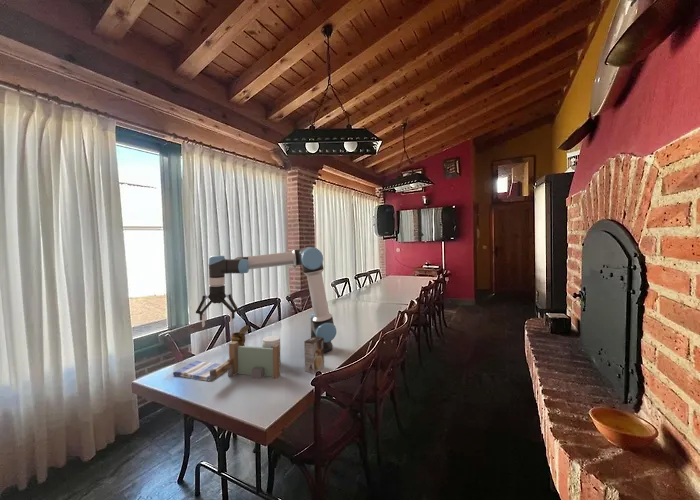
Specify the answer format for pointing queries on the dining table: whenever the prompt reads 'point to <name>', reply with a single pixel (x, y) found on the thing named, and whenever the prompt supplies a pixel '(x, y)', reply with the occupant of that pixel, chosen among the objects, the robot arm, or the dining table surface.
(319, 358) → the coffee box
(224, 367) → the walnut bar
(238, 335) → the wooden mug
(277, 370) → the door set
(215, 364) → the dish towel
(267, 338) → the supplement tub
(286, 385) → the dining table surface
